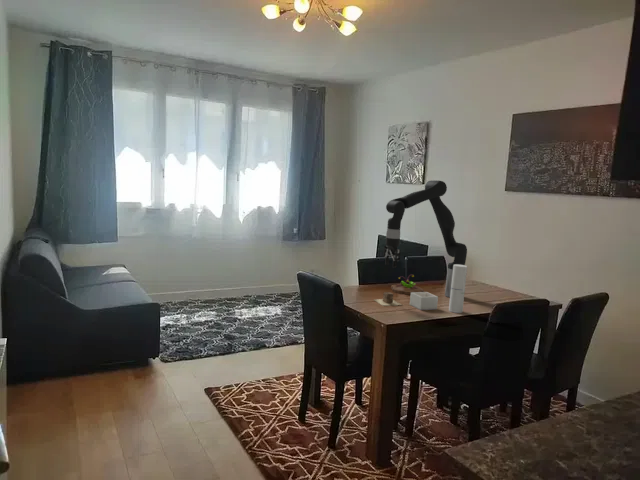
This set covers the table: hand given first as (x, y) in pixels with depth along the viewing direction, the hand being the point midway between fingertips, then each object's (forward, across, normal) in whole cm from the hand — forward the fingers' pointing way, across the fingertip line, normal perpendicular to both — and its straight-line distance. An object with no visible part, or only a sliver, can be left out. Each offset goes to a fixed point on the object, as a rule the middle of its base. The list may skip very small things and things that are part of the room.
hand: (390, 266), depth 256 cm
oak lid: (+21, 0, 0) cm, 21 cm away
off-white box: (+21, -11, -16) cm, 28 cm away
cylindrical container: (+21, -21, -30) cm, 42 cm away
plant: (+21, +24, -28) cm, 42 cm away
